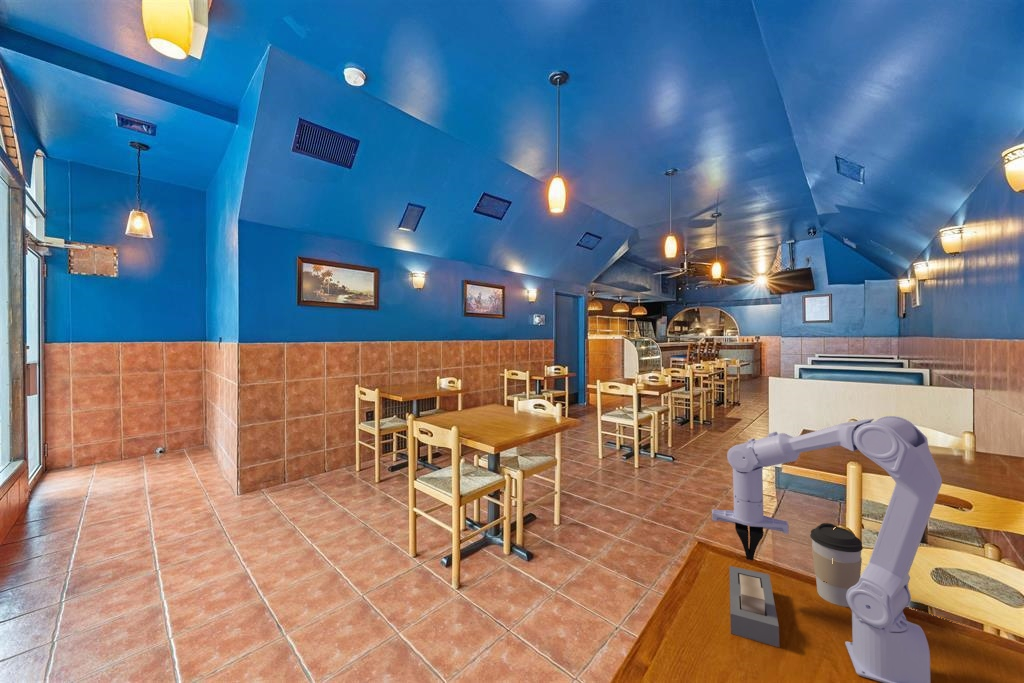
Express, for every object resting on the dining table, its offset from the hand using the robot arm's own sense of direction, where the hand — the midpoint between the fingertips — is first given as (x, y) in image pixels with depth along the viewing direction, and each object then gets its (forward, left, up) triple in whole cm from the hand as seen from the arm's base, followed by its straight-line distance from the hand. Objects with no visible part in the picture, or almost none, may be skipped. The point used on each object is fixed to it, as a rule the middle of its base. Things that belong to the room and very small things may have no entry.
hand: (749, 557), depth 88 cm
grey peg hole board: (0, +4, -9) cm, 10 cm away
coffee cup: (-17, -9, -10) cm, 21 cm away
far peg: (0, 0, -9) cm, 9 cm away
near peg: (0, +9, -6) cm, 11 cm away
